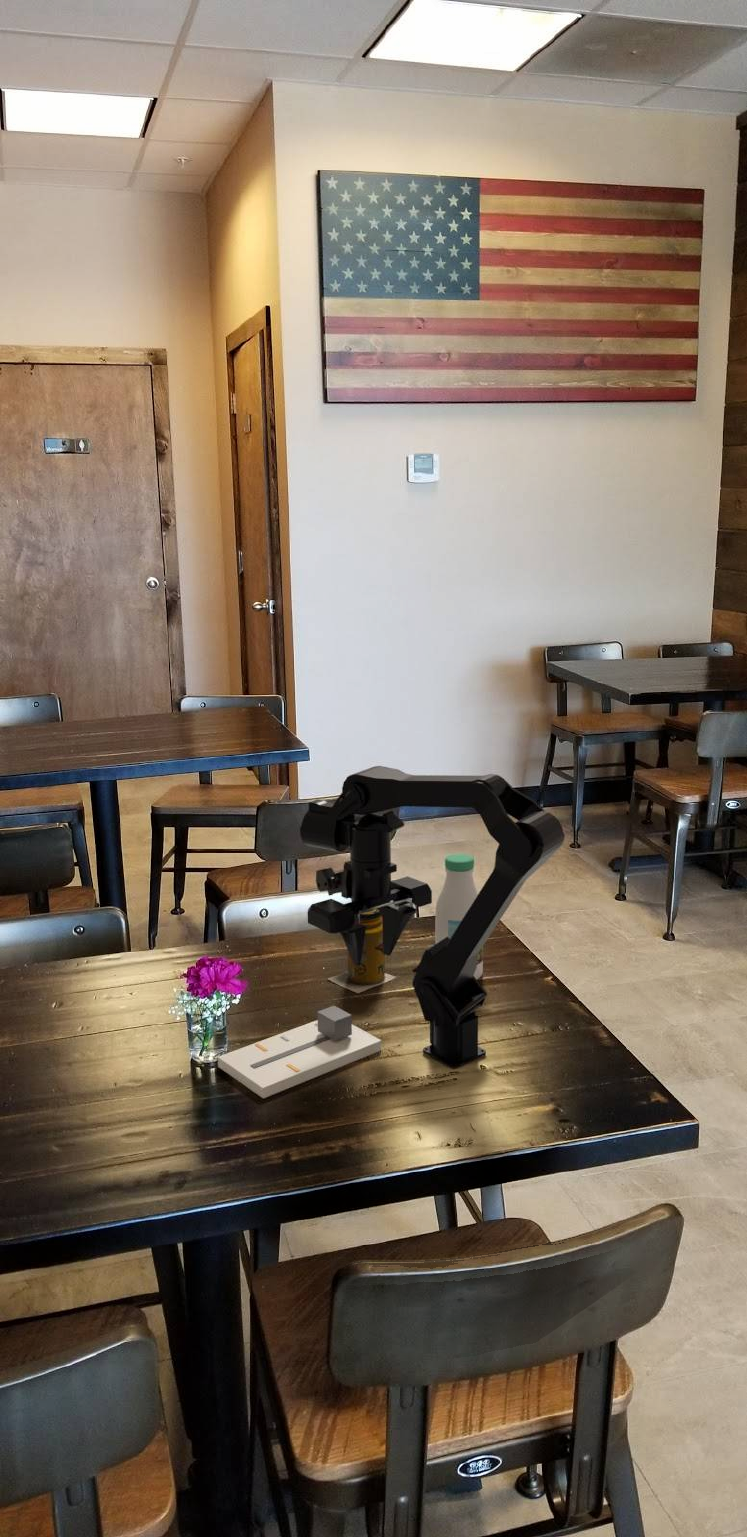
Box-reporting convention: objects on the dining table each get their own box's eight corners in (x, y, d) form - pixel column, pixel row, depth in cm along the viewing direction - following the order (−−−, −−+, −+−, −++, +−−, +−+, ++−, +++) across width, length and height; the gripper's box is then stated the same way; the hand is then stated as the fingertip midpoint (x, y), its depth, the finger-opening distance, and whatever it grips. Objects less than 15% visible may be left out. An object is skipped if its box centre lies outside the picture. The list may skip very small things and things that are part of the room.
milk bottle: (430, 981, 181) (429, 863, 176) (441, 962, 188) (441, 848, 183) (477, 987, 179) (478, 867, 174) (486, 967, 186) (488, 852, 181)
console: (381, 1050, 159) (381, 1039, 158) (263, 1098, 146) (262, 1087, 146) (333, 1023, 167) (333, 1013, 167) (218, 1066, 155) (217, 1056, 154)
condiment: (396, 978, 182) (395, 908, 180) (358, 994, 177) (357, 922, 174) (365, 965, 188) (364, 897, 185) (327, 980, 182) (325, 910, 179)
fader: (351, 1034, 159) (351, 1015, 159) (335, 1041, 158) (334, 1021, 157) (334, 1024, 162) (334, 1005, 162) (317, 1031, 161) (317, 1011, 160)
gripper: (384, 831, 170) (385, 928, 174) (283, 857, 159) (286, 960, 163) (434, 848, 162) (434, 949, 166) (330, 876, 150) (333, 985, 154)
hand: (372, 960), depth 162 cm, fingers open, 5 cm apart
